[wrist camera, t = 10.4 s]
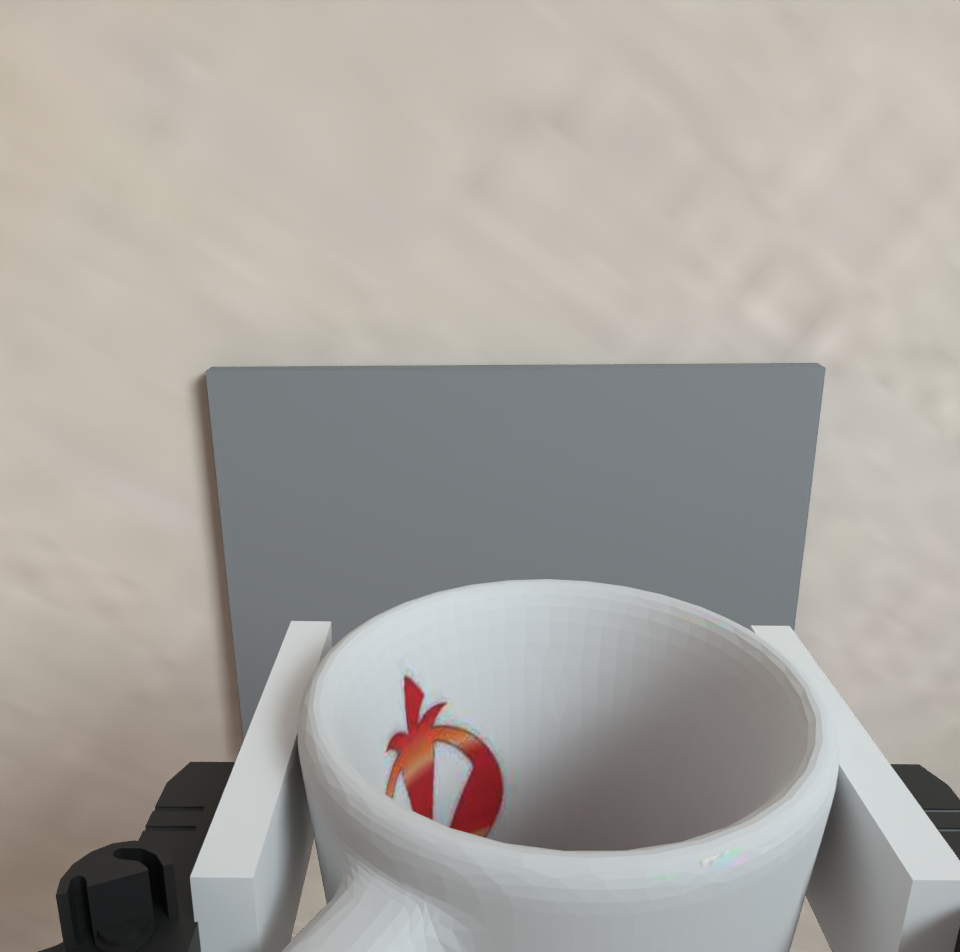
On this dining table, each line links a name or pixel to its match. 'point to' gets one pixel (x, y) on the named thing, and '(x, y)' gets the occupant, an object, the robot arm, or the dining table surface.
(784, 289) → the dining table surface
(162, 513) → the dining table surface
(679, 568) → the mat
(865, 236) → the dining table surface
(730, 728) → the cup
